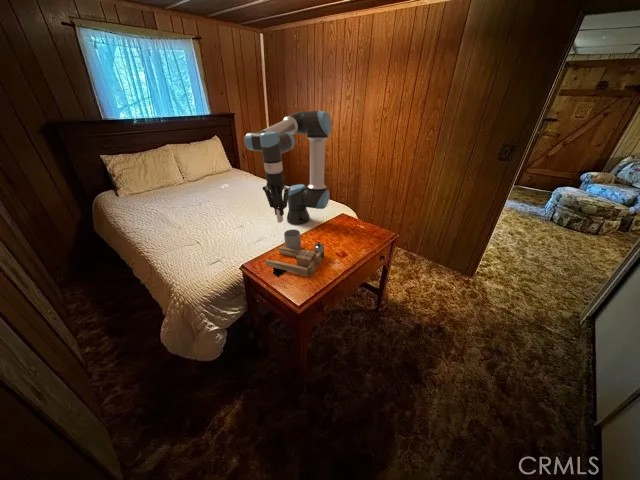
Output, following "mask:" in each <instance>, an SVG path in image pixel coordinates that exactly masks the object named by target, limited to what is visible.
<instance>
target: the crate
mask: <svg viewBox="0 0 640 480" xmlns="http://www.w3.org/2000/svg"><path fill="white" fill-rule="evenodd" d="M315 256H316V252H314V250H310V249H307V250H306V249H302V248H301V252H299V254H298V256H297V257H295V258H296V266H301V267H306V268H307V267H308V266H309V264H310V263H311V261H312V260H313V259H314V257H315Z"/></svg>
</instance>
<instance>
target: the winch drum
mask: <svg viewBox="0 0 640 480" xmlns="http://www.w3.org/2000/svg"><path fill="white" fill-rule="evenodd" d="M313 252H316V254H317V253H318V252H322V259H324V257H325V246H324V244H322V243H321V241H317V243H316V244H314V245H313Z"/></svg>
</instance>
